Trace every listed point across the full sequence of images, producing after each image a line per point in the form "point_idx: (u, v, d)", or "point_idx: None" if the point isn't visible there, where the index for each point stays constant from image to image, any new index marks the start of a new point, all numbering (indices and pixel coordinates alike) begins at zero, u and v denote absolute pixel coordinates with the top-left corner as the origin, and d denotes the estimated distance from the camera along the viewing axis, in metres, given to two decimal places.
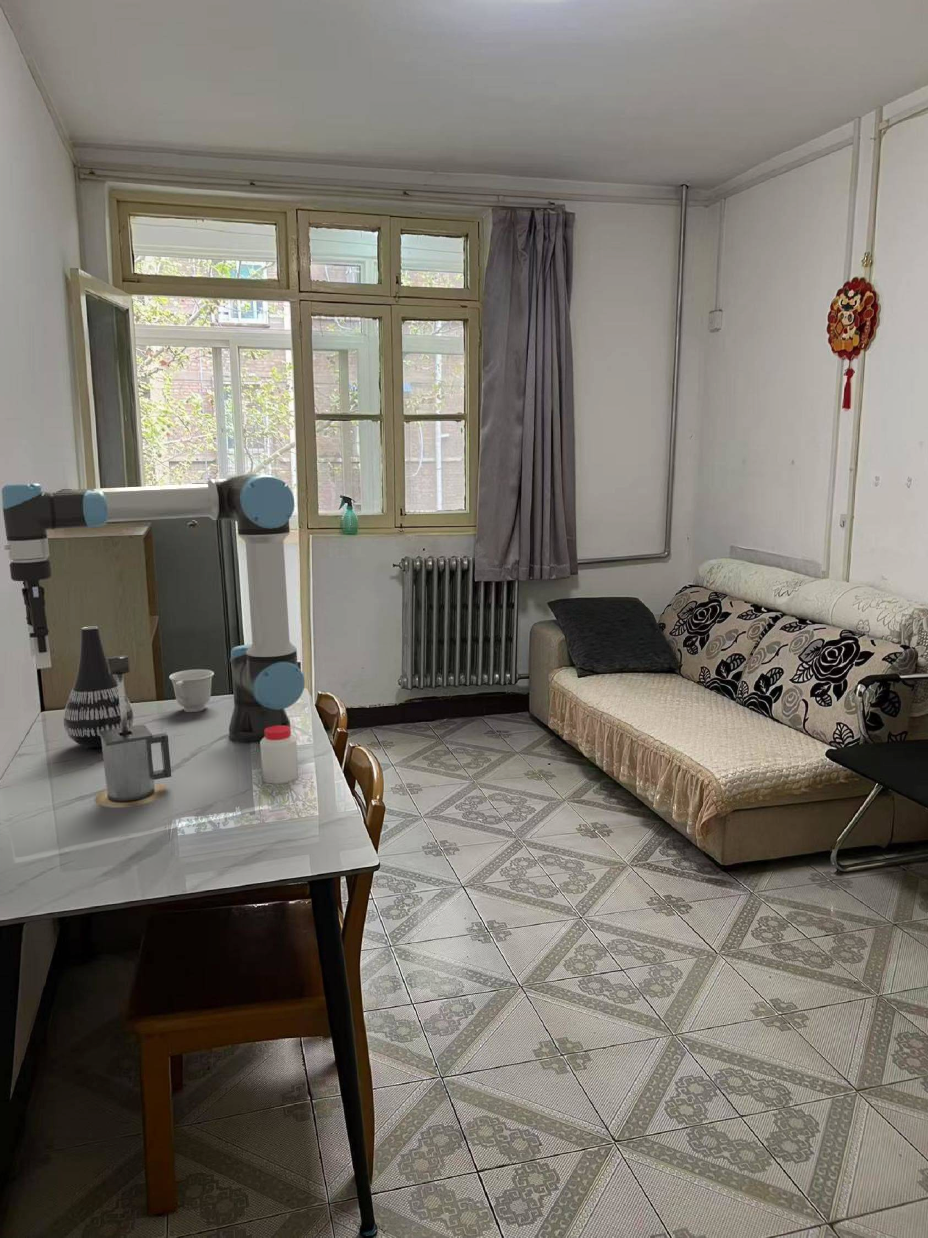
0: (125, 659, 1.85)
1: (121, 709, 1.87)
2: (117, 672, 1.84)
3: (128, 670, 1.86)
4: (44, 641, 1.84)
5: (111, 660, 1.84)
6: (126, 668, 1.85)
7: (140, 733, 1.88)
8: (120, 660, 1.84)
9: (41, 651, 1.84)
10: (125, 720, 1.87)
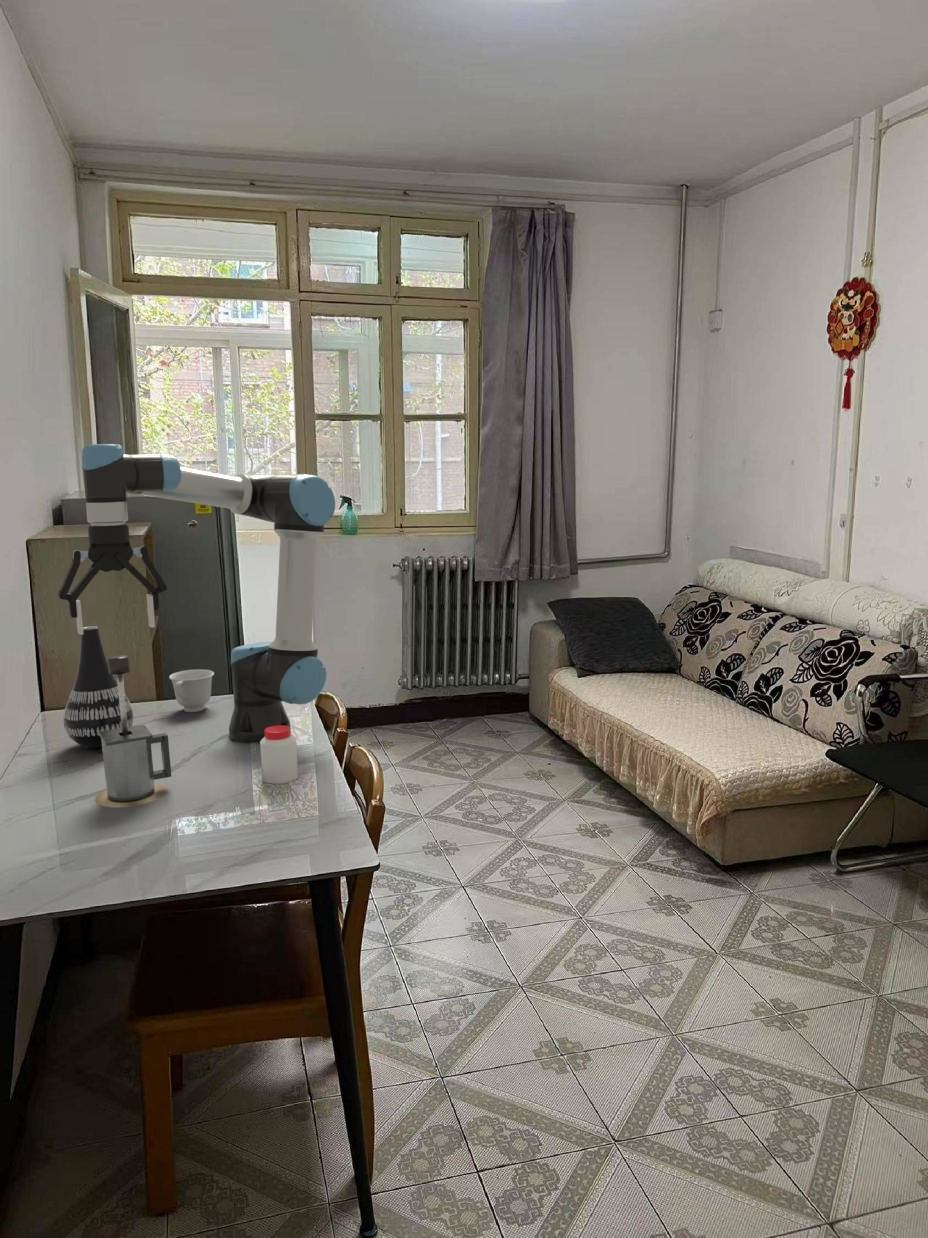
0: (125, 659, 1.85)
1: (121, 709, 1.87)
2: (117, 672, 1.84)
3: (128, 670, 1.86)
4: (69, 606, 1.80)
5: (111, 660, 1.84)
6: (126, 668, 1.85)
7: (140, 733, 1.88)
8: (120, 660, 1.84)
9: None
10: (125, 720, 1.87)
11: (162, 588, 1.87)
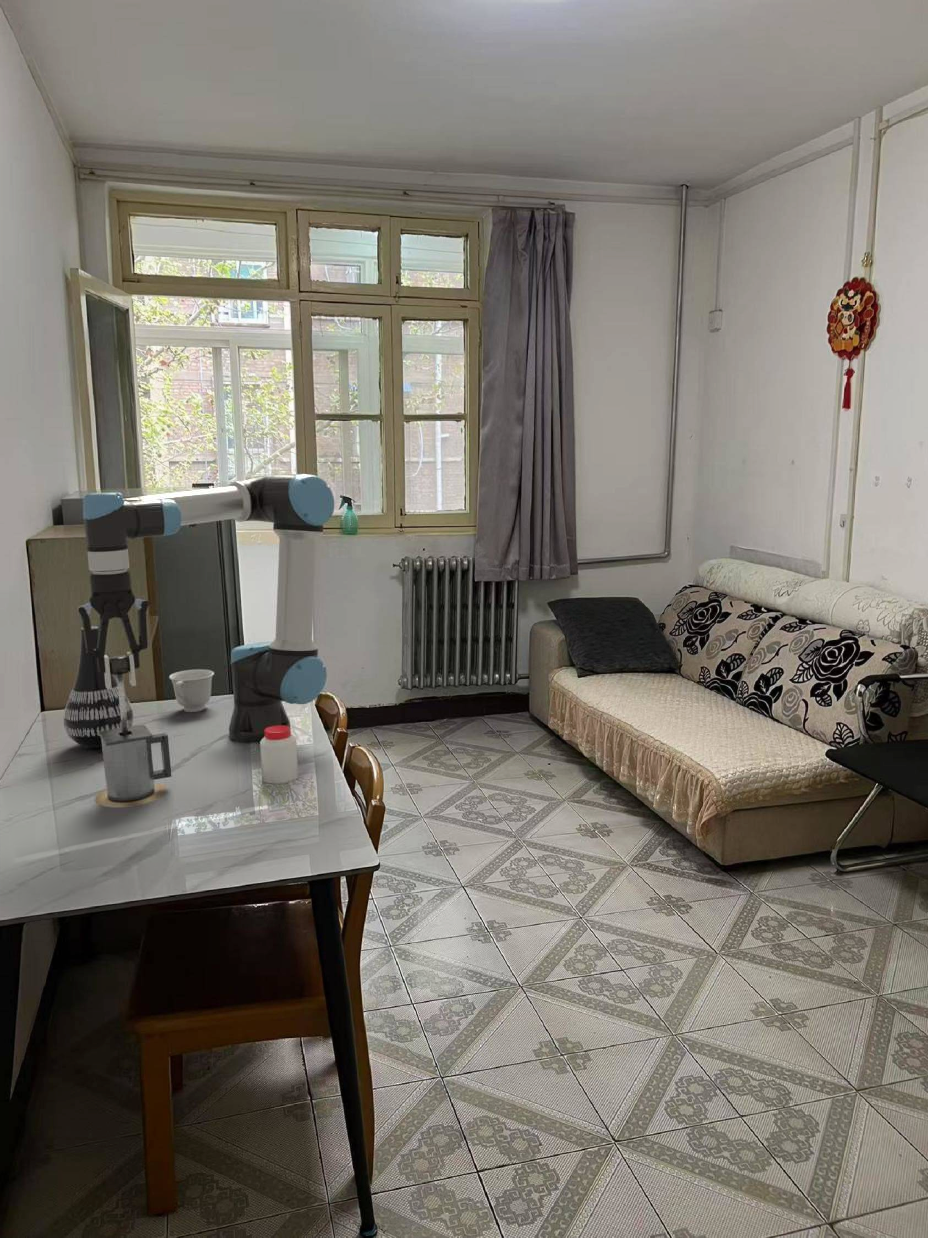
0: (125, 659, 1.85)
1: (121, 709, 1.87)
2: (117, 672, 1.84)
3: (128, 670, 1.86)
4: (98, 662, 1.83)
5: (111, 660, 1.84)
6: (126, 668, 1.85)
7: (140, 733, 1.88)
8: (120, 660, 1.84)
9: (99, 671, 1.84)
10: (125, 720, 1.87)
11: (142, 645, 1.86)
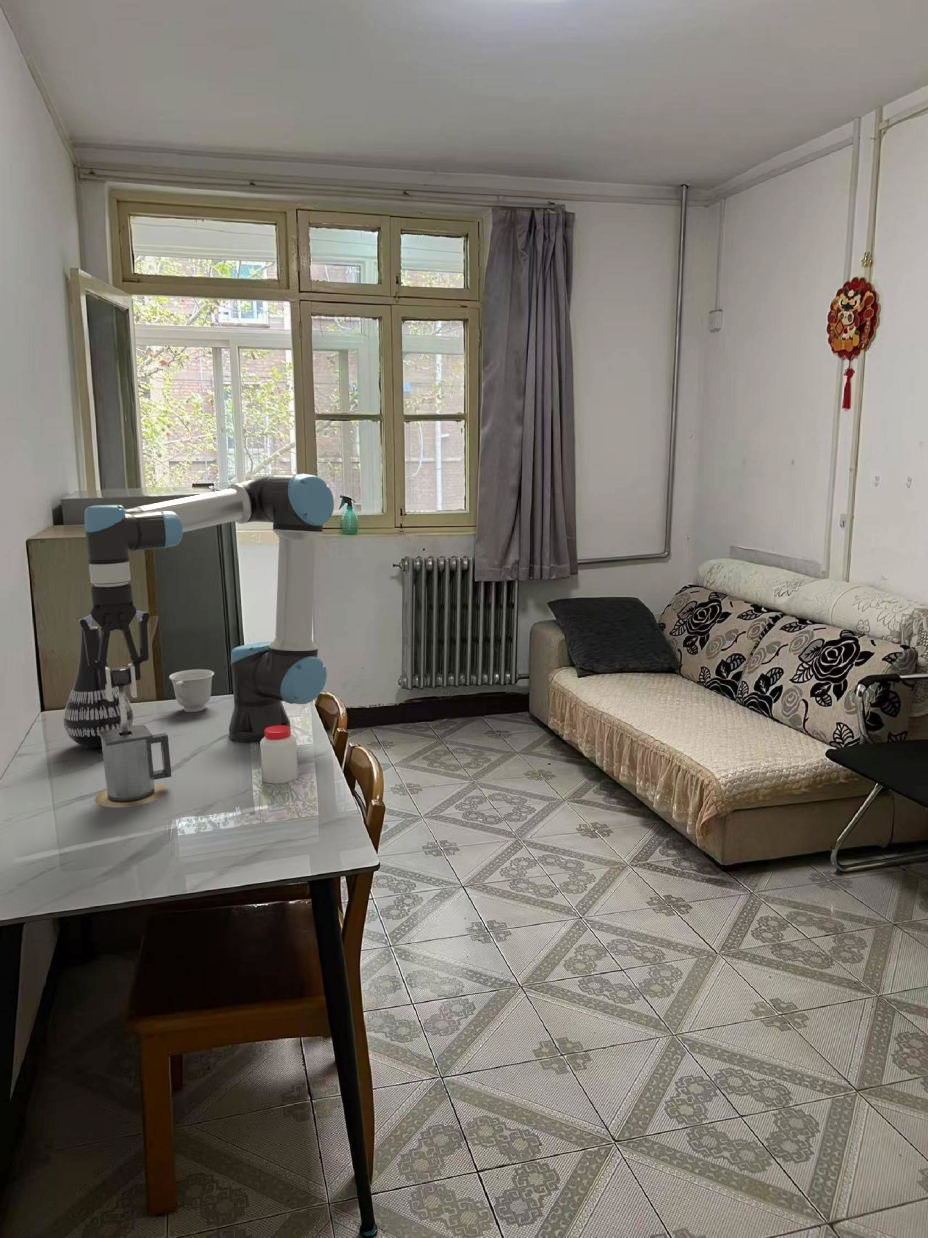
0: (126, 671, 1.85)
1: (122, 721, 1.87)
2: (118, 684, 1.84)
3: (129, 682, 1.86)
4: (99, 674, 1.84)
5: (112, 672, 1.84)
6: (127, 680, 1.85)
7: (140, 733, 1.88)
8: (121, 672, 1.84)
9: (100, 682, 1.85)
10: (126, 732, 1.88)
11: (144, 657, 1.87)
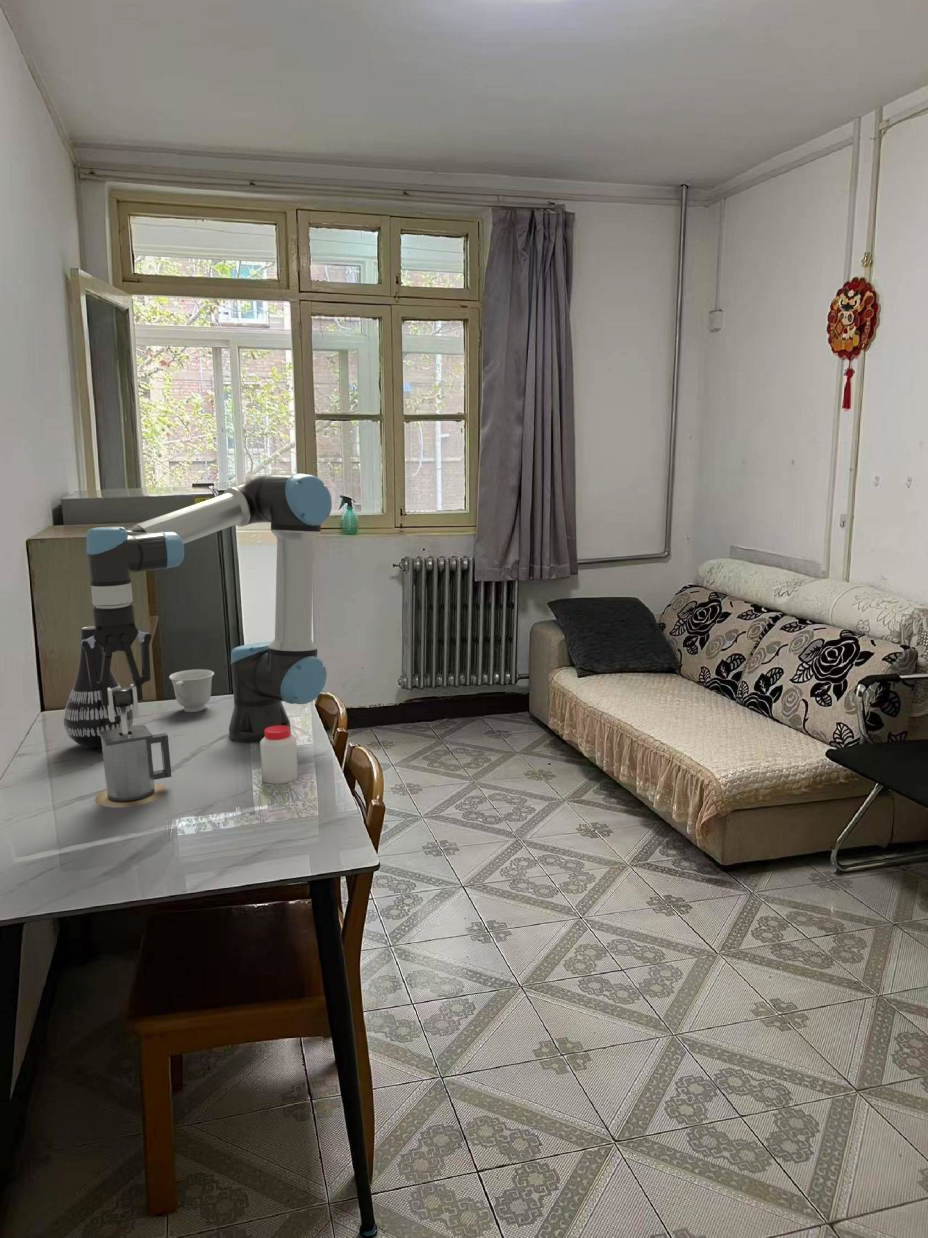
0: (128, 692, 1.86)
1: None
2: (120, 705, 1.85)
3: (131, 703, 1.87)
4: (101, 695, 1.84)
5: (114, 693, 1.85)
6: (129, 700, 1.86)
7: (140, 733, 1.88)
8: (123, 693, 1.85)
9: None
10: None
11: (145, 678, 1.88)
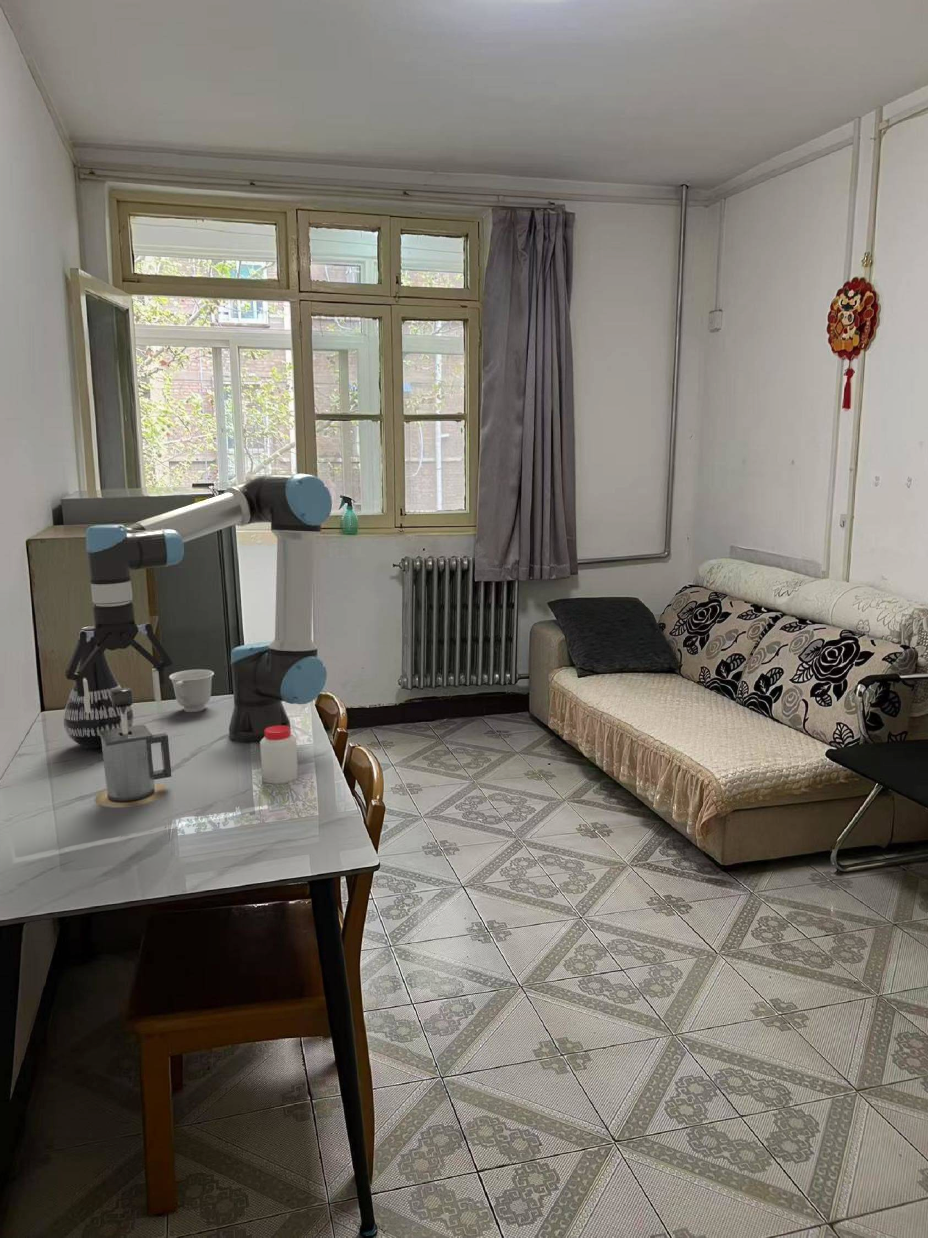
0: (128, 692, 1.86)
1: None
2: (120, 705, 1.85)
3: (131, 703, 1.87)
4: (76, 686, 1.82)
5: (114, 693, 1.85)
6: (129, 701, 1.86)
7: (140, 733, 1.88)
8: (123, 693, 1.85)
9: None
10: None
11: (167, 663, 1.89)
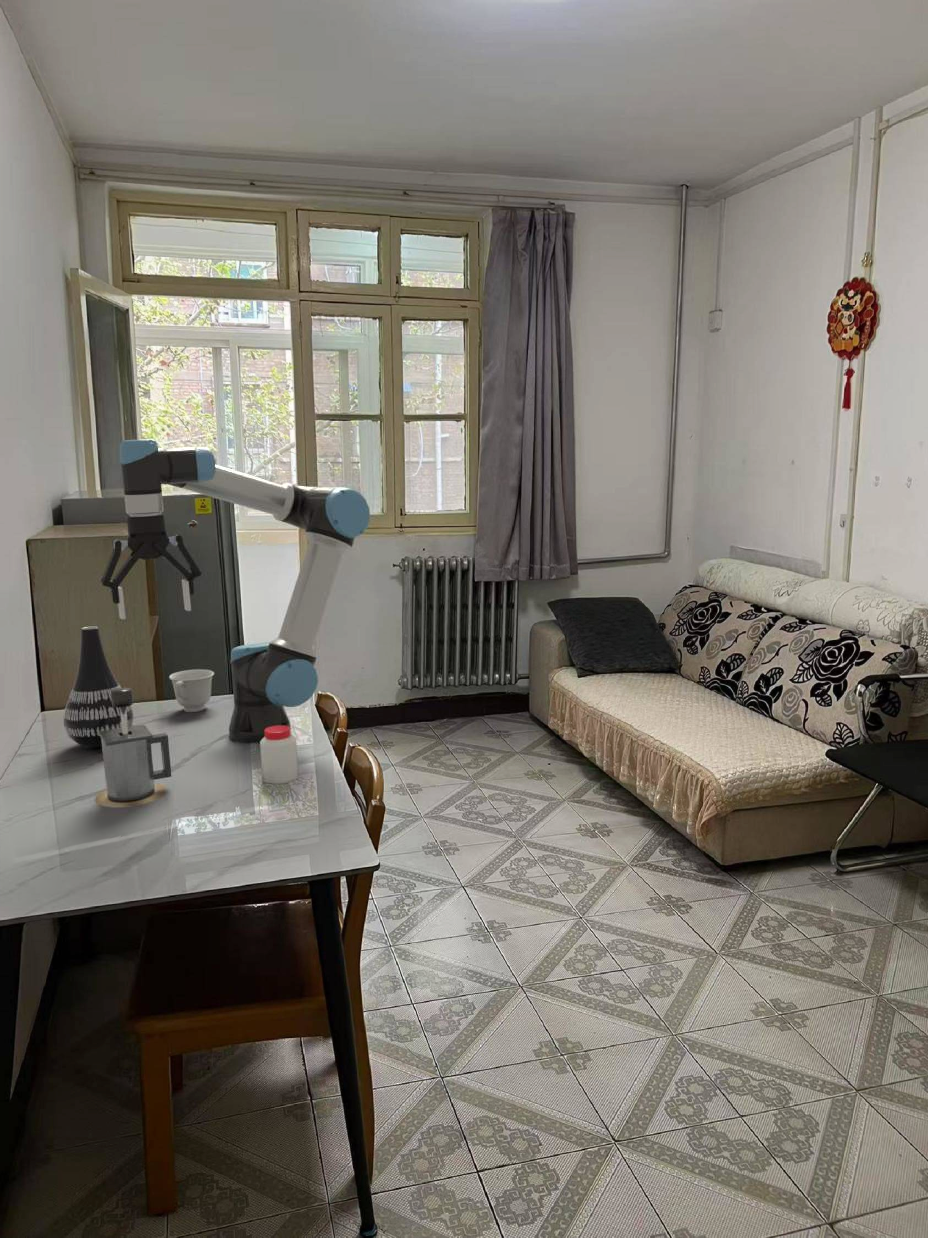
0: (128, 692, 1.86)
1: None
2: (120, 705, 1.85)
3: (131, 703, 1.87)
4: (112, 593, 1.92)
5: (114, 693, 1.85)
6: (129, 701, 1.86)
7: (140, 733, 1.88)
8: (123, 693, 1.85)
9: (113, 601, 1.93)
10: None
11: (197, 574, 1.99)
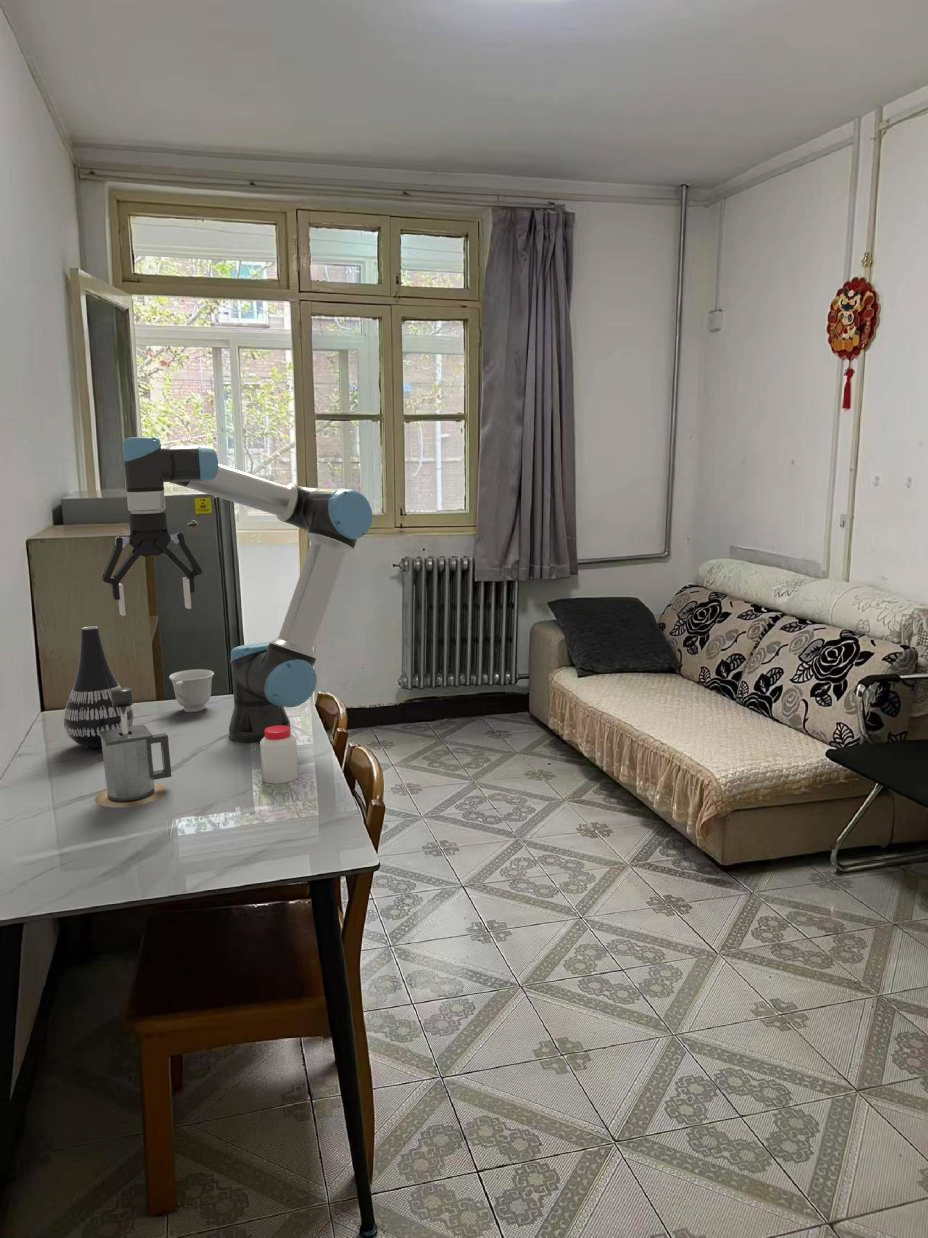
0: (128, 692, 1.86)
1: None
2: (120, 705, 1.85)
3: (131, 703, 1.87)
4: (112, 589, 1.92)
5: (114, 693, 1.85)
6: (129, 701, 1.86)
7: (140, 733, 1.88)
8: (123, 693, 1.85)
9: None
10: None
11: (197, 572, 2.00)
